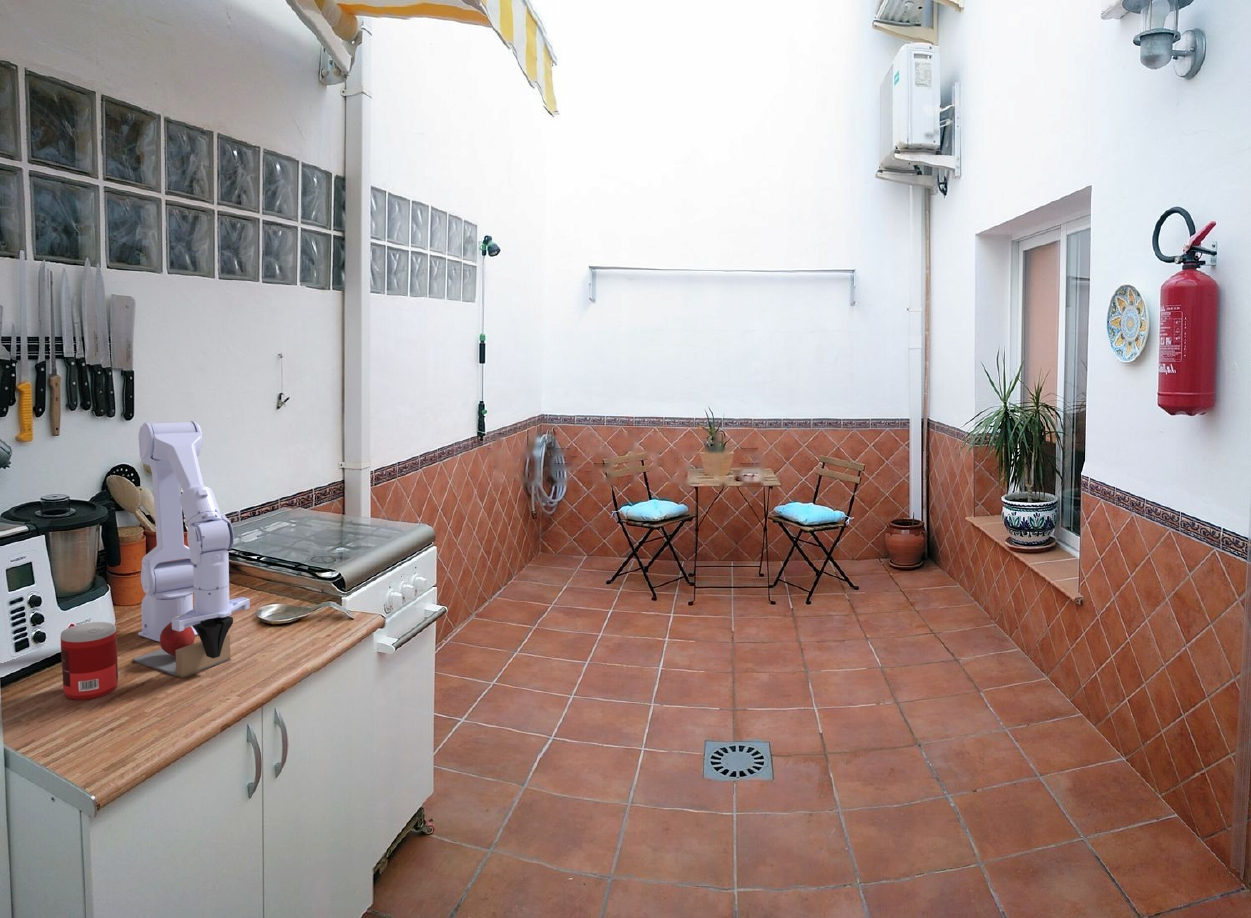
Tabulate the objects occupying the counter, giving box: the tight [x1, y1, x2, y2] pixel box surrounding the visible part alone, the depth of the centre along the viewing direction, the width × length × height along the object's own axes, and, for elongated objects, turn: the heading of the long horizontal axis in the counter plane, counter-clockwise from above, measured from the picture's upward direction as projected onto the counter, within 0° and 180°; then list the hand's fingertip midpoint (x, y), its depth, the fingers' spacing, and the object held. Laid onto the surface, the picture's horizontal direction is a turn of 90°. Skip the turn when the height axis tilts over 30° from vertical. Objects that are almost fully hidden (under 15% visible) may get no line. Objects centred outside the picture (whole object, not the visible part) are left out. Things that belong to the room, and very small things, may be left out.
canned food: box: [60, 621, 119, 701], centre depth 139 cm, size 8×8×11 cm
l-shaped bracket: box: [132, 633, 231, 679], centre depth 153 cm, size 14×10×5 cm
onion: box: [159, 616, 196, 657], centre depth 153 cm, size 6×6×8 cm
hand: (213, 656), depth 149 cm, fingers closed
